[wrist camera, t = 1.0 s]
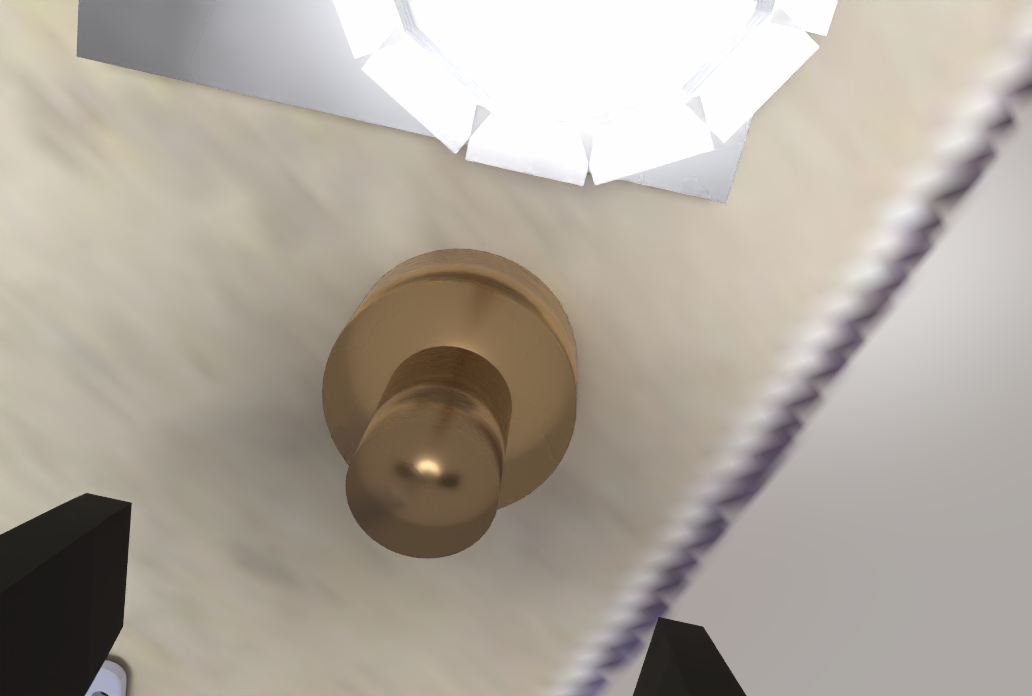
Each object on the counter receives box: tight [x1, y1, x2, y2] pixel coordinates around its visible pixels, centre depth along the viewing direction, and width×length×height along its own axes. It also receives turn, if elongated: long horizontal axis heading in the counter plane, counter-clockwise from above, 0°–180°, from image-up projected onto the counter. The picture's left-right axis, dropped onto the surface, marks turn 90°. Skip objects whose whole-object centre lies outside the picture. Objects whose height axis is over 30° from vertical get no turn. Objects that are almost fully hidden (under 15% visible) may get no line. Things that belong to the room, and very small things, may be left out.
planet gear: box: [322, 249, 577, 558], centre depth 19 cm, size 5×5×6 cm
